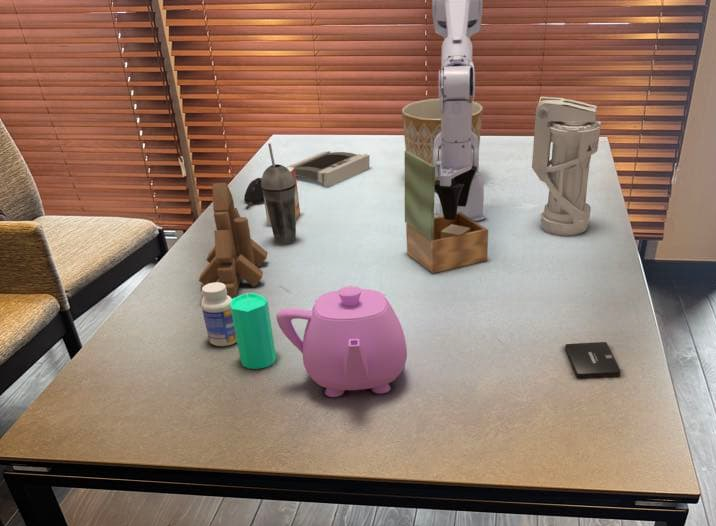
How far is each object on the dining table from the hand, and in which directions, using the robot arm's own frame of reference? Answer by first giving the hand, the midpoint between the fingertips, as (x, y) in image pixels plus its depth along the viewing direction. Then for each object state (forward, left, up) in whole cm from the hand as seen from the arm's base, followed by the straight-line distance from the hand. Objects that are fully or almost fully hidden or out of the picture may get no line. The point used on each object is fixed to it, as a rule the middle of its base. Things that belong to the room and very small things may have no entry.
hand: (455, 212), depth 158 cm
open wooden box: (+2, 0, -9) cm, 9 cm away
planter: (-20, -43, -9) cm, 48 cm away
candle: (+50, +22, -9) cm, 55 cm away
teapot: (+40, +37, -9) cm, 55 cm away
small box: (+24, -38, -9) cm, 46 cm away
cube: (0, 0, -8) cm, 8 cm away
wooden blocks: (+43, -13, -9) cm, 46 cm away
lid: (+8, 0, +5) cm, 9 cm away
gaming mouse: (+25, -55, -9) cm, 61 cm away
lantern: (-27, -2, -9) cm, 29 cm away
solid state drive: (+2, +50, -9) cm, 51 cm away
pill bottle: (+53, +12, -9) cm, 55 cm away
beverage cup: (+28, -26, -9) cm, 39 cm away
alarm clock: (+3, -65, -9) cm, 66 cm away
